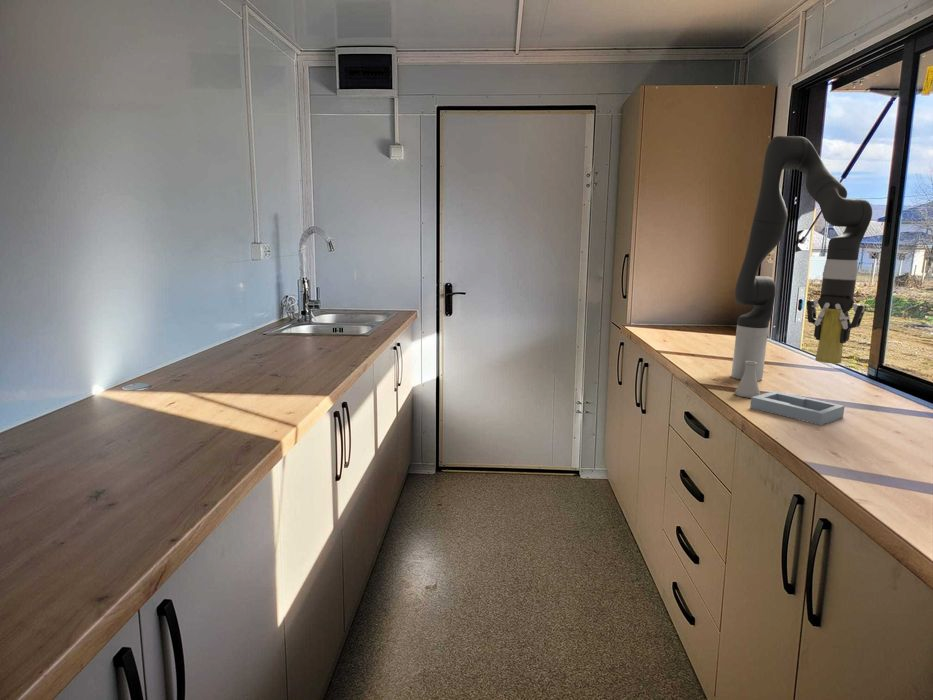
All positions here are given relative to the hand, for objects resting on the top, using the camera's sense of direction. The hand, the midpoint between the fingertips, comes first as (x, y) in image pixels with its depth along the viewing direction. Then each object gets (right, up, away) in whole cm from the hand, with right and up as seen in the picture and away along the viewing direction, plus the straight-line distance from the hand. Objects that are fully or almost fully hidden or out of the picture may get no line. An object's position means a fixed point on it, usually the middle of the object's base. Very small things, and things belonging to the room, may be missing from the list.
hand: (830, 341), depth 164 cm
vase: (0, -6, +1) cm, 6 cm away
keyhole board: (-10, -19, -1) cm, 21 cm away
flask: (-15, -16, +16) cm, 27 cm away
